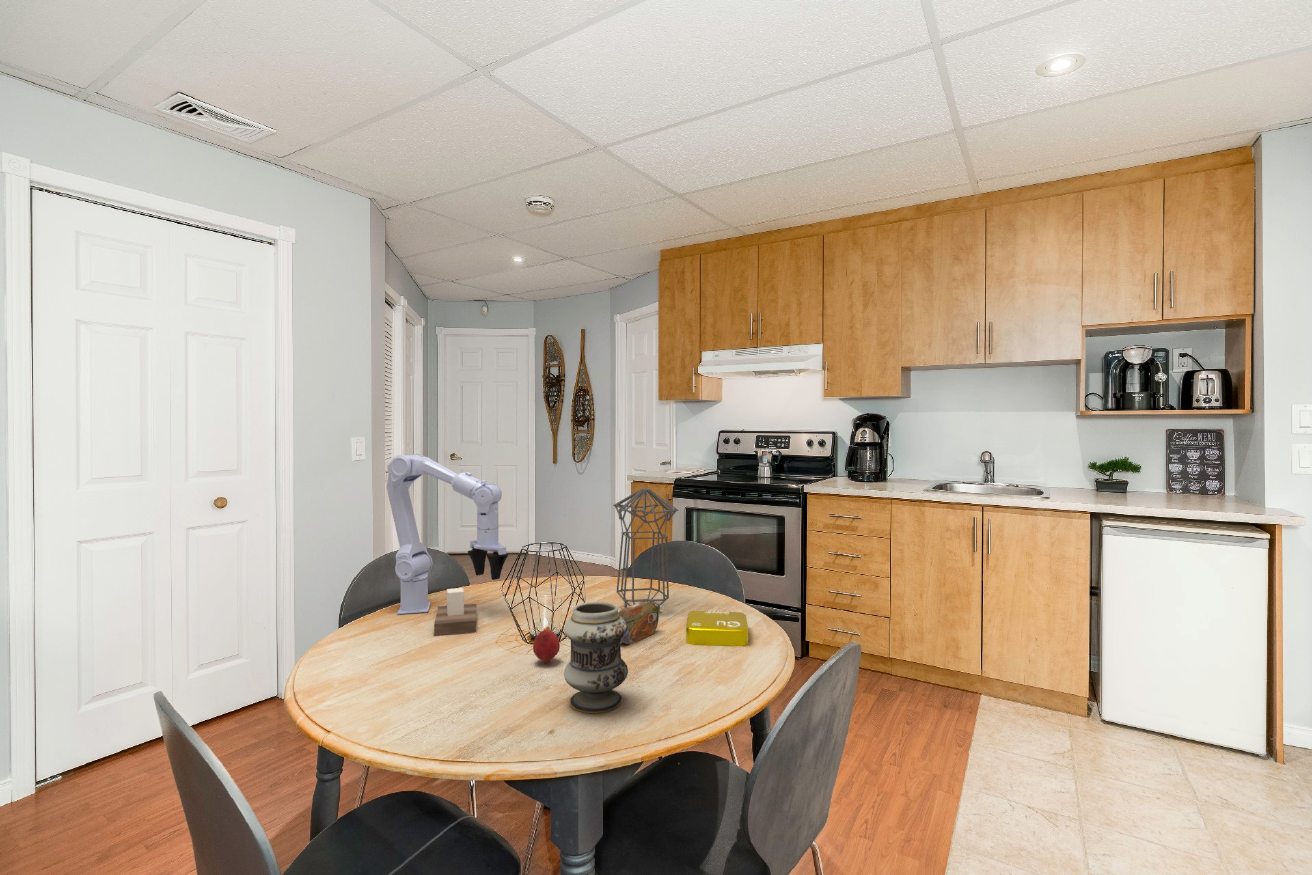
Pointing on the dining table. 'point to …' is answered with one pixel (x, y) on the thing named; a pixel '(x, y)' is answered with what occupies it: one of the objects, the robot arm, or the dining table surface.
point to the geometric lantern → (669, 511)
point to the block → (455, 601)
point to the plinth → (455, 621)
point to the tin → (639, 621)
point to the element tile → (717, 628)
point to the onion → (546, 645)
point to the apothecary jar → (595, 656)
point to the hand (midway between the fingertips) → (487, 576)
